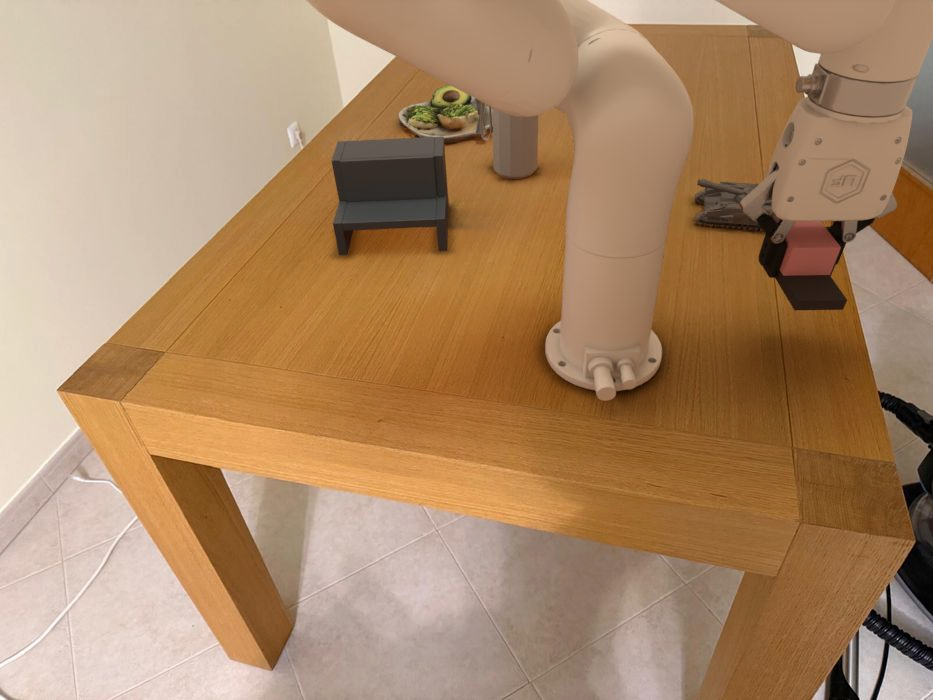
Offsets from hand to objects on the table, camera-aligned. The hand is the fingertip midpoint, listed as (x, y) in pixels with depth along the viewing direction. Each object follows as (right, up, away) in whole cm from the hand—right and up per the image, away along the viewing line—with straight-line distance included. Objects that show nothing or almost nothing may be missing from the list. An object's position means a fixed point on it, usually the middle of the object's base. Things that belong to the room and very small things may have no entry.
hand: (794, 268), depth 69 cm
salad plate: (-36, +33, +56) cm, 74 cm away
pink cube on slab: (0, -2, -1) cm, 2 cm away
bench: (-43, +9, +28) cm, 52 cm away
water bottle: (-26, +20, +40) cm, 53 cm away
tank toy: (+5, +10, +27) cm, 29 cm away
